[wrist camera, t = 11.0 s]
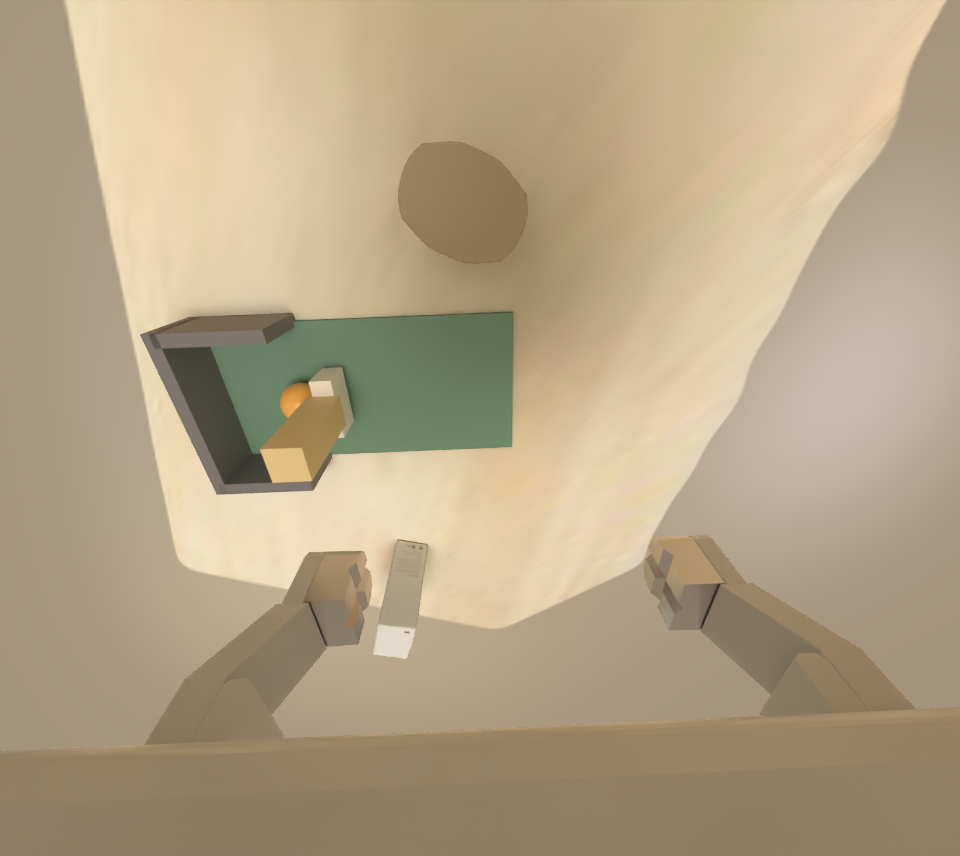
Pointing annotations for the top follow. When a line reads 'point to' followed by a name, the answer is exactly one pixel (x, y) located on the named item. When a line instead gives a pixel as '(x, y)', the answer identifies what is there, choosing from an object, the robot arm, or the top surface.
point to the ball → (294, 397)
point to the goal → (217, 396)
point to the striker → (310, 430)
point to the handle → (462, 202)
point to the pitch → (386, 380)
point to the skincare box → (401, 601)
